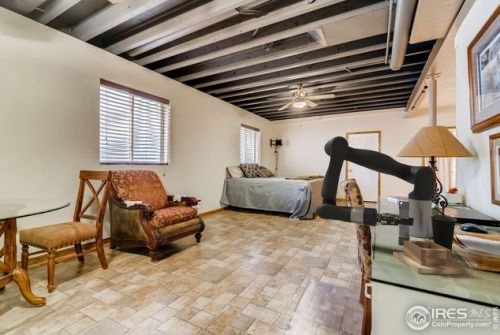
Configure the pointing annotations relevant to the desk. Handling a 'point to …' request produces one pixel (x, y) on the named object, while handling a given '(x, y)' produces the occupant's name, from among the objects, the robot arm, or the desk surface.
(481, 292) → the desk surface
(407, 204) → the ball topped joystick
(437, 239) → the drinking cup
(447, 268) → the wooden square box
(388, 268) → the desk surface
